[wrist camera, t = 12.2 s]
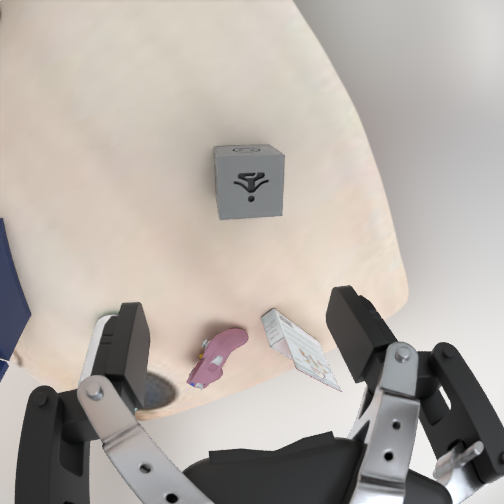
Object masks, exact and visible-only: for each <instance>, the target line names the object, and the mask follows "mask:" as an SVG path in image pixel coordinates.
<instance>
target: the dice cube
mask: <svg viewBox="0 0 504 504" xmlns="http://www.w3.org/2000/svg"><path fill="white" fill-rule="evenodd" d="M214 159H215V183H216V200H217V207H218V213H219V219H220V220H228V219H242V218H257V217H273V216H282V209H283V188H284V163H285V155H284V154H283V153H281V152H280V151H278V150H277V149H275V148H274V147H272V146H271V145H237V146H217V147H214Z"/></svg>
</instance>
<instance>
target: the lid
mask: <svg viewBox="0 0 504 504" xmlns="http://www.w3.org/2000/svg"><path fill="white" fill-rule="evenodd" d="M8 367H9V366H8V364H7V362H6V361H2V360H0V382H1V380H2V378H3V376H4V374H5V372H6V371H7V369H8Z"/></svg>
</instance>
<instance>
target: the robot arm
mask: <svg viewBox="0 0 504 504" xmlns="http://www.w3.org/2000/svg"><path fill="white" fill-rule="evenodd" d="M326 323H327V326H328V329H329V331H330V333H331V335H332V336H333V338H334V340H335V342H336V344H337V346H338V348H339V350H340V352H341V354H342V357H343V359H344V361H345V363H346V364H347V367H348V369H349V371H350V373H351V375H352V377H353V379H354V381H355V383H359V382H363V381H365V382H366V384H367V386H366V388H365V391H364V394H363V398H362V401H361V404H360V408H359V411H358V414H357V417H356V420H355V423H354V426H353V428H352V429H351V431H350V433H349V435H348V437H347V438H340V437H334V436H333V433H332V431H330V432H326V433H322V434H319V435H314V436H310V437H306V438H302V439H300V440H298V441H296V442H294V443H292V444H290V445H287V446H285V447H283V448H281V449H278V450H275V451H263V450H250V449H231V450H219V451H209V458H206V459H203V460H200V461H198V462H196V463H194V464H192V465H190V466H189V467H188V468H186V469H185V470H184V471H183V472H181V471H180V470H179V469H178V468H177V467H176V466H175V465H174V464H173V463H172V462H171V460H170V459H168V457H167V456H166V455H165V454H164V453H163V451H162V450H161V449H160V448H159V447H158V446H157V445H156V443H155V442H154V441H153V440H152V438H151V437H150V436H149V435H148V433H147V432H146V431H145V430H144V428H143V427H142V426H141V425H140V424H139V422H138V421H137V420H136V418H135V408H138V409H144V397H145V385H146V374H147V364H148V355H149V347H150V333H149V328H148V325H147V321H146V318H145V315H144V311H143V308H142V305H141V303H140V302H132V303H122V305H121V308H120V312H119V315H117V316H111V317H110V318H109V320H108V321H107V322H106V323H105V325H104V328H103V331H102V336H101V338H100V342H99V345H98V349H97V352H96V356H95V360H94V364H93V368H92V372H91V375H90V376H89V377H87V378H85V379H84V380H83V381H82V382H81V383H80V384H79V386H78V389H75V390H71V391H66V392H61V393H57V392H56V391H55V390H54V389H53V388H52V387H50V386H39V387H37V388H36V389H34V390H33V391H32V393H31V394H30V396H29V399H28V403H27V407H26V412H25V416H24V421H23V427H22V432H21V437H20V444H19V451H18V459H17V469H16V480H15V504H90V497H89V456H90V441H91V440H97V439H101V441H102V443H103V445H102V447H103V450H104V451H105V453H106V455H107V456H108V458H109V459H110V460H111V462H112V463H113V465H114V467H115V468H116V469H117V471H118V472H119V474H120V475H121V476H122V478H123V479H124V480H125V482H126V483H127V484H128V486H129V487H130V488H131V489H132V491H133V492H134V493H135V495H136V496H137V497H138V498H139V499H140V500H141V502H142V503H143V504H460V503H461V502H463V501H464V500H465V499H467V498H468V497H470V496H471V495H472V494H474V493H475V492H476V491H477V490H479V489H481V488H483V487H485V486H487V485H488V484H490V483H492V482H494V481H496V480H497V479H499V478H501V477H503V476H504V427H503V425H502V423H501V421H500V420H499V418H498V416H497V414H496V412H495V410H494V408H493V406H492V405H491V403H490V401H489V399H488V398H487V396H486V394H485V393H484V391H483V389H482V387H481V386H480V384H479V383H478V381H477V380H476V378H475V376H474V374H473V373H472V371H471V370H470V368H469V367H468V365H467V364H466V362H465V361H464V359H463V358H462V356H461V355H460V353H459V352H458V350H457V349H456V348H455V347H454V346H453V345H451V344H449V343H446V342H441V343H438V344H437V345H436V346H435V347H434V349H433V350H432V351H430V352H427V351H424V352H423V351H421V352H420V351H418V352H417V351H416V350H415V349H414V348H413V347H412V346H411V345H409V344H407V343H405V342H398V340H397V339H396V338H395V336H394V335H393V333H392V332H391V330H390V329H389V327H388V326H387V325H386V323H385V322H384V320H383V319H382V318H381V316H380V314H379V313H378V312H376V309H375V307H374V306H373V305H372V303H371V302H370V301H369V300H367V299H366V298H365V297H363V296H362V295H360V296H358V295H357V293H356V292H355V290H354V289H353V288H352V286H350V285H348V286H340V287H334V288H333V289H332V292H331V296H330V300H329V304H328V308H327V312H326ZM441 386H442V387H443V389H444V391H445V393H446V394H447V396H448V398H449V400H450V402H451V410H450V409H449V407H448V406H447V404H446V402H445V400H444V398H443V396H442V395H441V392H440V391H439V388H440V387H441ZM418 418H419V419H420V422H421V424H422V426H423V428H424V431H425V433H426V435H427V437H428V440H429V442H430V444H431V447H432V449H433V451H434V454H435V456H436V459H437V463H436V469H435V470H434V472H433V477H434V478H435V479H437V481H434V480H432V479H430V478H428V477H426V476H423V475H421V474H419V473H417V472H415V471H413V470H411V469H409V464H410V460H411V455H412V451H413V446H414V441H415V436H416V430H417V424H418Z"/></svg>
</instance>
